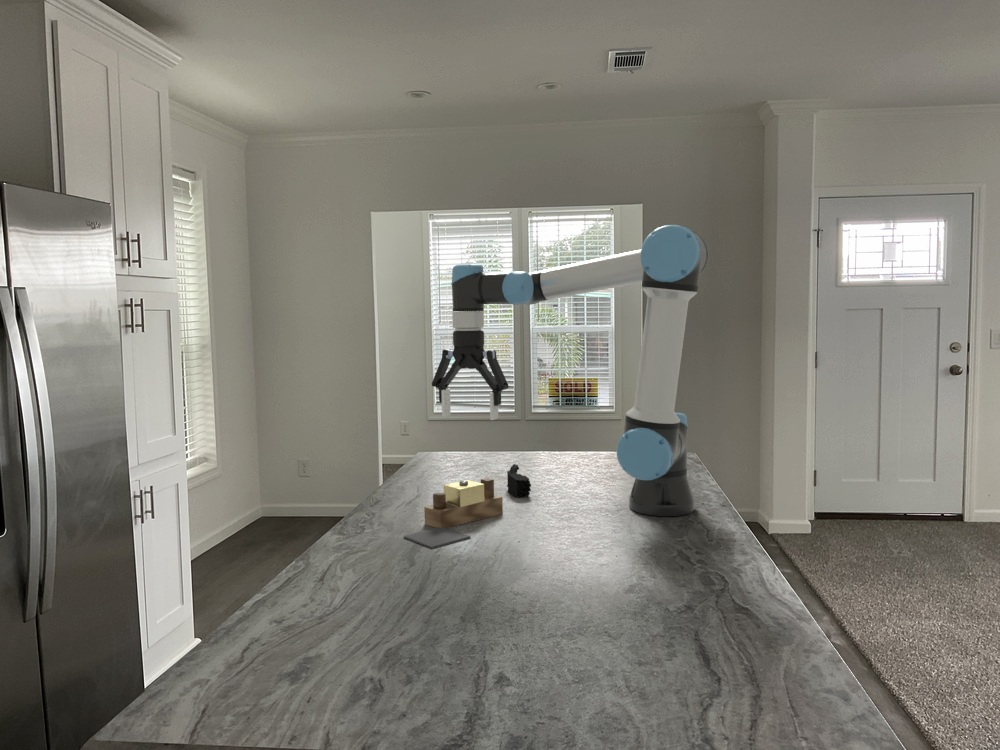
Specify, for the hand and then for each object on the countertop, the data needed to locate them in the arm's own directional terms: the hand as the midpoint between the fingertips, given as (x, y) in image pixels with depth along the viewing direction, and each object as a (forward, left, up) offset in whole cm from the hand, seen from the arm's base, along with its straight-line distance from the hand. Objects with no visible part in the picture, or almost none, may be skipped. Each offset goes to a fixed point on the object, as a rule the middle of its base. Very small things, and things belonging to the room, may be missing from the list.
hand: (469, 417), depth 179 cm
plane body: (-8, +9, -22) cm, 25 cm away
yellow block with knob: (-8, +9, -18) cm, 21 cm away
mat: (-15, +22, -22) cm, 34 cm away
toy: (+2, -17, -22) cm, 28 cm away
